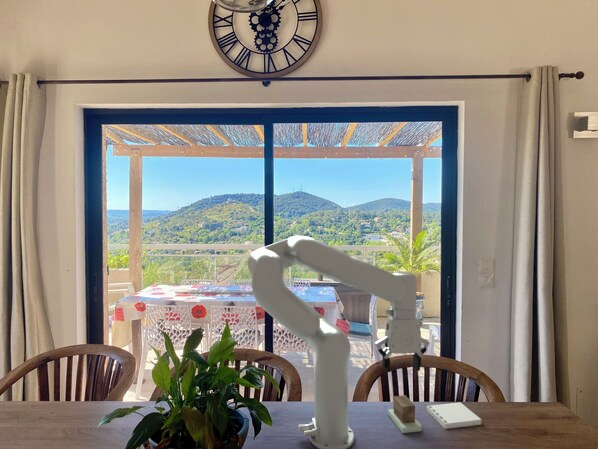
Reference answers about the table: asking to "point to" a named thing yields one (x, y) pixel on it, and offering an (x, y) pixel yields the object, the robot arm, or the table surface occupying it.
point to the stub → (404, 415)
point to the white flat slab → (453, 415)
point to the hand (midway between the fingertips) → (401, 369)
